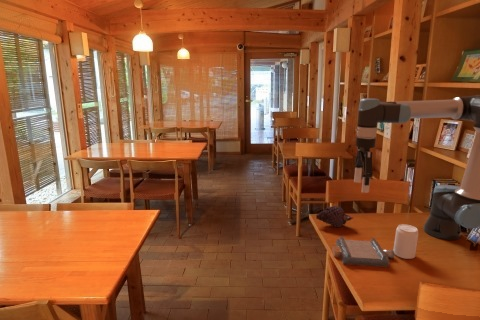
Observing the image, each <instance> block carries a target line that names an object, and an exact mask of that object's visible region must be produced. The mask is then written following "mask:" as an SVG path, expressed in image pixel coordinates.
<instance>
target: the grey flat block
mask: <svg viewBox="0 0 480 320" xmlns="http://www.w3.org/2000/svg"><path fill="white" fill-rule="evenodd" d="M331 248H332V249H331V251H332V255H333V257H334V258H340V260H341V263H342V265H352V266H364V267H378V268H380V267H382V268H389V265H390V259H394V258H395V254H394V251H393V249H383V247H381V245H380V244H379V241H377V239H376V238H375V237H371V240H354V239H344V236H342V235H340V236H339V239H338V238H336V239H335V245H332V247H331Z"/></svg>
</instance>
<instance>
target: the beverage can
mask: <svg viewBox="0 0 480 320" xmlns="http://www.w3.org/2000/svg"><path fill="white" fill-rule="evenodd" d="M419 233H420V232H419V230H418V228H417V227H416V226H413V225H410V224H405V223H402V224H401V223H400V224H398V225H397V227H396V229H395V234H394V235H395V236H394V243H393V249H392V250H393V251H394V256H396V257H399V258H401V259H406V260H411V259H414V258H415V257H416V253H417V247H418V246H417V245H418V238H419Z"/></svg>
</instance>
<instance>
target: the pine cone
mask: <svg viewBox="0 0 480 320" xmlns="http://www.w3.org/2000/svg"><path fill="white" fill-rule="evenodd" d="M315 219H316V220H319V221H320V222H323V223H325V224H329V225H331V226H332V227H335V228H340V227H343V226H345V225H346V224H347V222H348V221H351V220H352V219H354V217H353V216H350V215H348V214H346V213H345V211H344V209H343V207H340V206H337V205H333V206H328V207H326V208H324V210H321V212H318V213H317V214H316V215H315Z"/></svg>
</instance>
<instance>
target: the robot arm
mask: <svg viewBox="0 0 480 320" xmlns="http://www.w3.org/2000/svg"><path fill="white" fill-rule="evenodd" d="M434 118H435V119H437V118H439V119H442V118H451V119H453V120H463V121H469V122H474V124H473V129H474V131H475V133H476V134H475V136H474V139H473V143H472V146H471V149H470V152H469V156H468V159H467V164H466V166H465V169H464V172H463V173H464V174H463V176H462V179H461V183H460V186H457V185H451V184H450V185H449V184H438V185H436V186H435V187H434V189H433V191H432V192H433V195H432V200H431V206H430V213H429V216H428V217H427V219H426V221H425V223H424V224H423V231H424V233H426V234H428V235H429V236H432V237H434V238H437V239H440V240H441V239H442V240H445V241H446V240H448V241H449V240H450V241H456V240H459V239H461V236H462V229H461V227H463V228H466V229H470V230H471V229H477V228H480V94H476V95H468V96H457V97H453V98H452V99H436V100H435V99H433V100H432V99H429V100H427V99H426V100H403V101H401V100H400V101H399V100H398V101H381V100H380V99H379V98H362V99H360V101H359V105H358V115H357V127H356V128H355V132H356V138H355V145H354V146H356V147H357V150H356V155H355V159H354V165H353V166H354V167H355V168H354V177H353V178H354V180H353V183H357V184H358V183H360V184H361V183H362V184H361V194H362V193H366V194H367V193H370V186H371V178H373V176H374V174H373V173H374V172H373V151H371V150H370V149H374V148H375V147H376V138H377V132H378V124H380V123H381V124H383V123H384V124H386V123H387V124H406V123H408V122H409V121H410V119H434ZM362 172H363V174H362Z"/></svg>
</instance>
